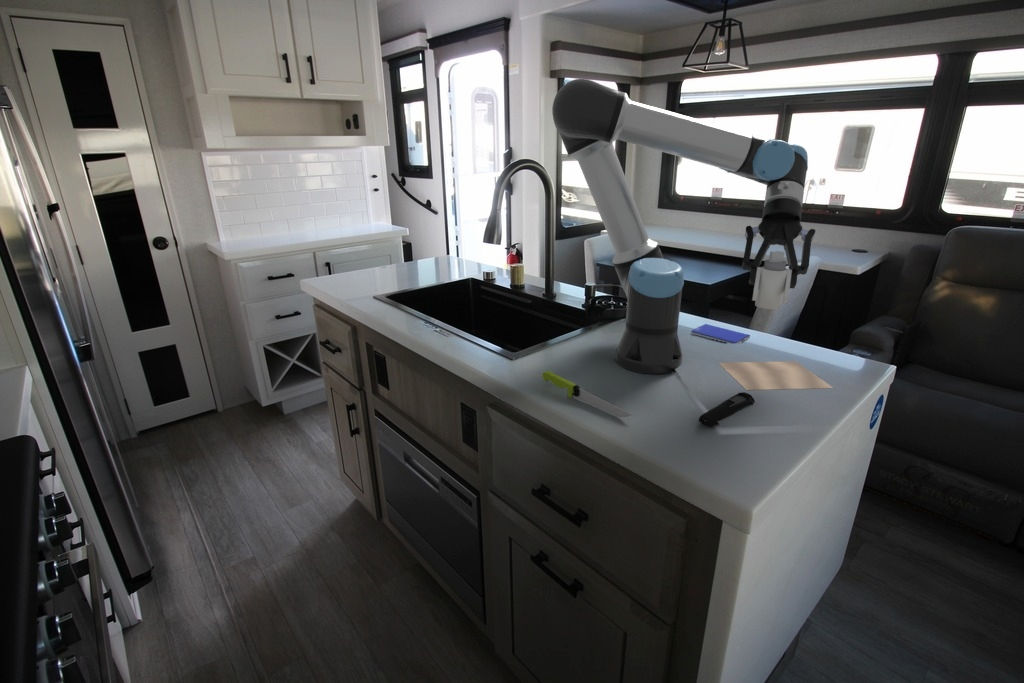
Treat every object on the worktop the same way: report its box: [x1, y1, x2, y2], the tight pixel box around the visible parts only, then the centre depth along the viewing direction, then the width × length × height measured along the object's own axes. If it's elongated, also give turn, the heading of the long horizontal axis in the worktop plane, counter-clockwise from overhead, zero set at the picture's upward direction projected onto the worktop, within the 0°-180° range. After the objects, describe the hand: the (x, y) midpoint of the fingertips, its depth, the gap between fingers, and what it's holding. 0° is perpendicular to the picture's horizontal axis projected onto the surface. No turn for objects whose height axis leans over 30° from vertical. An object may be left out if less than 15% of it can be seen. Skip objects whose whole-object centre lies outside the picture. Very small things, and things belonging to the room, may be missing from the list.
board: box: [718, 360, 834, 391], centre depth 111 cm, size 18×14×1 cm
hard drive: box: [690, 323, 751, 345], centre depth 136 cm, size 2×8×12 cm
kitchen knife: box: [541, 370, 633, 418], centre depth 101 cm, size 22×1×3 cm, turn 43°
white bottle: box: [754, 250, 789, 310], centre depth 106 cm, size 5×5×12 cm
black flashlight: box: [698, 391, 755, 427], centre depth 96 cm, size 4×16×3 cm, turn 127°
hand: (769, 298), depth 104 cm, fingers closed on white bottle, 5 cm apart
